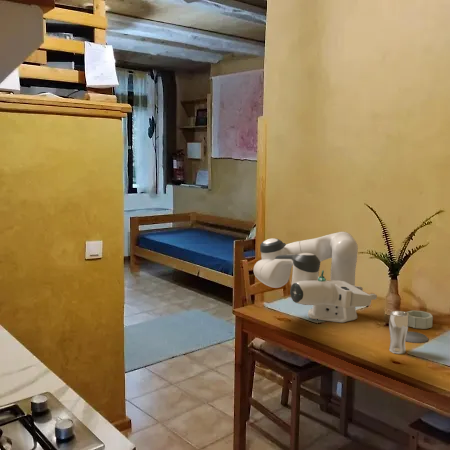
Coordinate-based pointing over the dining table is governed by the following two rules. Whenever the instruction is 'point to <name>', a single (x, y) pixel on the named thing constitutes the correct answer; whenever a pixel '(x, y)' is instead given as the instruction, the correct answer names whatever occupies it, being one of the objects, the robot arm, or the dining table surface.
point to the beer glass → (398, 331)
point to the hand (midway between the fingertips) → (368, 292)
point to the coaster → (416, 337)
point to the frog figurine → (321, 277)
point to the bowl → (419, 319)
